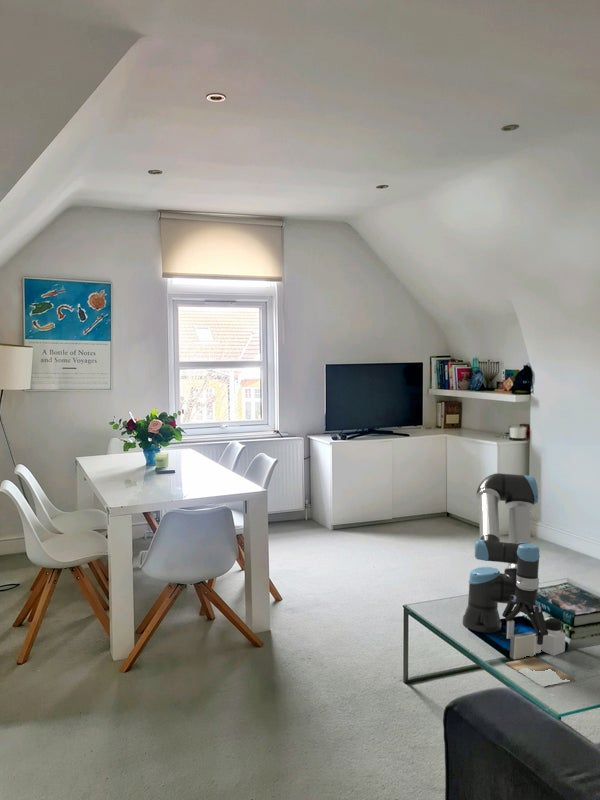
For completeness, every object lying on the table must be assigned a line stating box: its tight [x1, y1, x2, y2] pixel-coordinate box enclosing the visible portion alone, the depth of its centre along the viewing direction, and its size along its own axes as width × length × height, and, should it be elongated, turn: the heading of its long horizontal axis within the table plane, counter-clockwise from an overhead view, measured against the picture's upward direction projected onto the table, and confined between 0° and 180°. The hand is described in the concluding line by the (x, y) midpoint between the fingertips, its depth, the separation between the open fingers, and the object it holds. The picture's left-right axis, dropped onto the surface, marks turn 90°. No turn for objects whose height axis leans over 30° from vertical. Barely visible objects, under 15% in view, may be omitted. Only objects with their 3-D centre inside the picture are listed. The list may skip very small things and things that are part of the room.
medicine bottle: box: [539, 617, 567, 657], centre depth 242 cm, size 7×7×12 cm
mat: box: [504, 656, 576, 682], centre depth 224 cm, size 18×14×1 cm
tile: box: [509, 631, 536, 661], centre depth 237 cm, size 2×10×8 cm, turn 115°
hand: (523, 645), depth 236 cm, fingers open, 13 cm apart
